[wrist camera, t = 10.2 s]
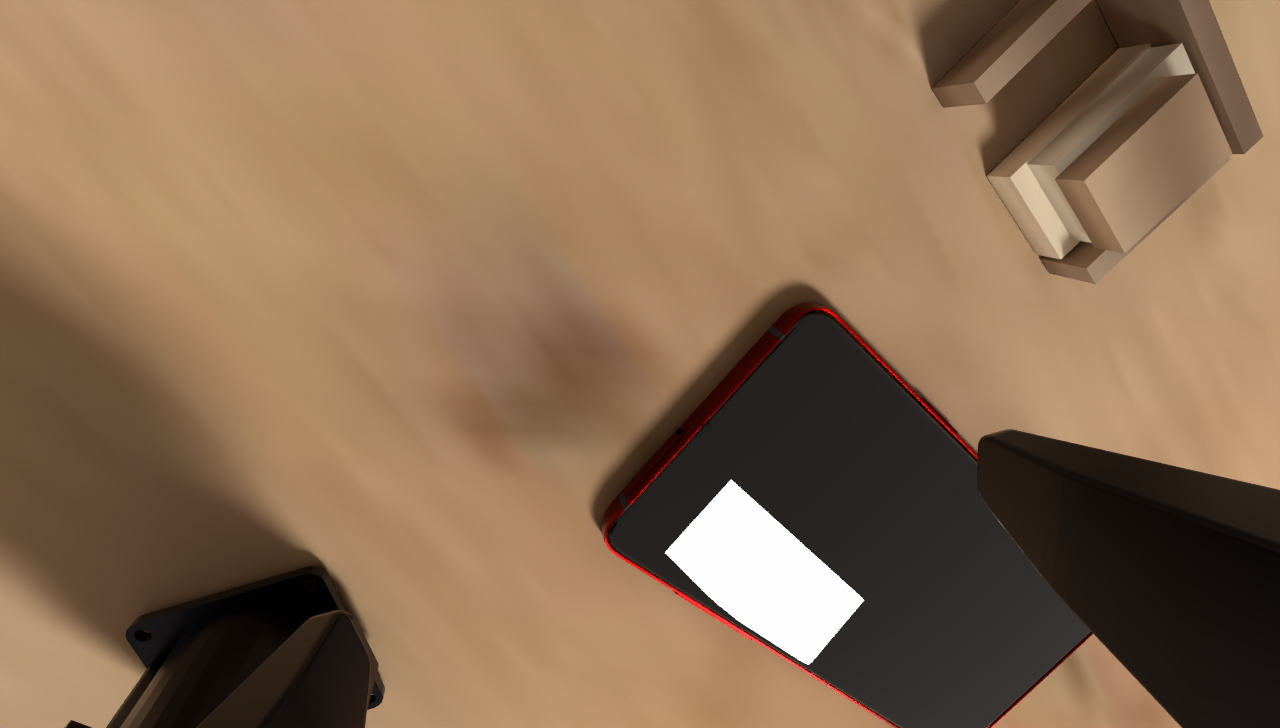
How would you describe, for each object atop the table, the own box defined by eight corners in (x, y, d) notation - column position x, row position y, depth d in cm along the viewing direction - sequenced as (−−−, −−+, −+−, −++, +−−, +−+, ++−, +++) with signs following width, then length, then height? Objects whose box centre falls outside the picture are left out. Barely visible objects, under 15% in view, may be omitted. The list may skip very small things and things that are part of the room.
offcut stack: (1036, 254, 23) (1116, 270, 20) (986, 176, 22) (1064, 180, 19) (1160, 137, 23) (1263, 135, 20) (1118, 48, 21) (1221, 31, 18)
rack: (1049, 273, 24) (1108, 287, 21) (826, -77, 18) (873, -110, 16) (1189, 142, 23) (1265, 142, 21) (1002, -262, 17) (1077, -325, 15)
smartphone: (953, 770, 32) (587, 546, 22) (934, 743, 33) (582, 521, 24) (1133, 606, 30) (820, 290, 21) (1105, 584, 31) (800, 281, 22)
